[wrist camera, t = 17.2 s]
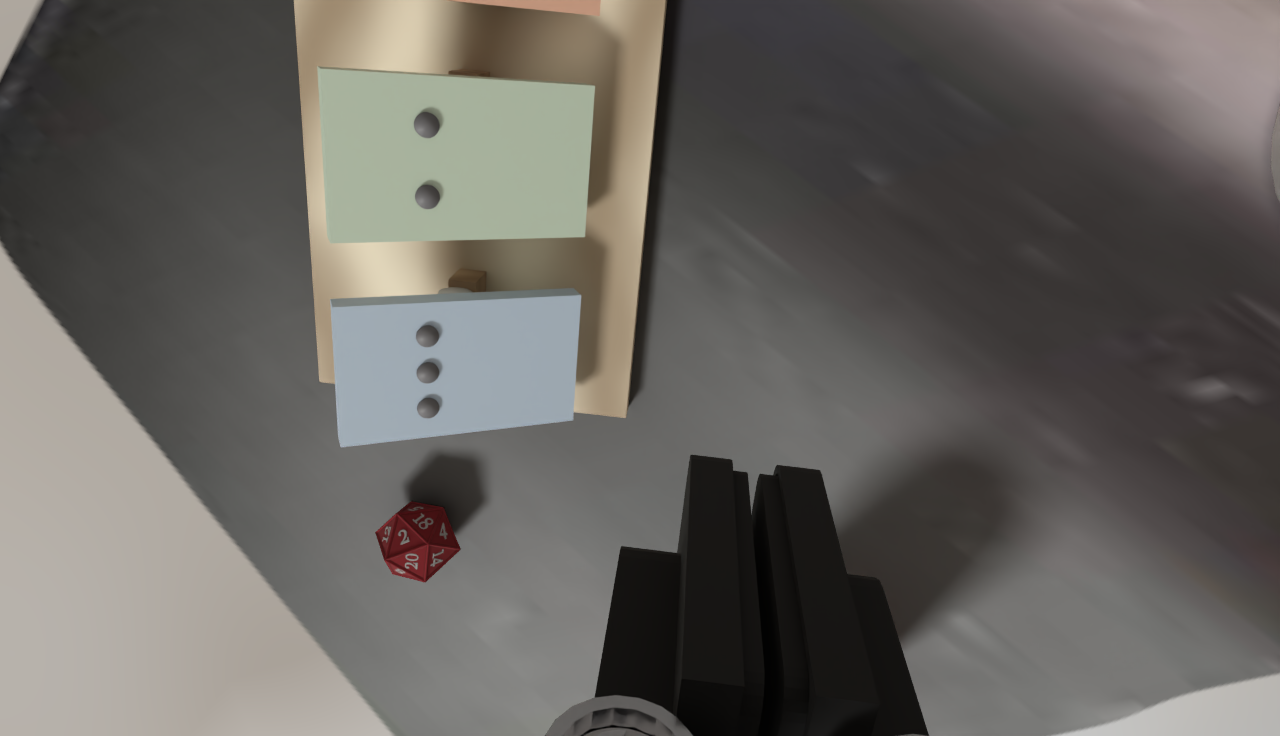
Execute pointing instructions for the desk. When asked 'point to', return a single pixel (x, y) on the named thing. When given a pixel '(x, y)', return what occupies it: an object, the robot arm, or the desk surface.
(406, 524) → the dice
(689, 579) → the robot arm
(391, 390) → the tile
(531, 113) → the tile
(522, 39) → the board
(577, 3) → the tile
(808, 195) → the desk surface
